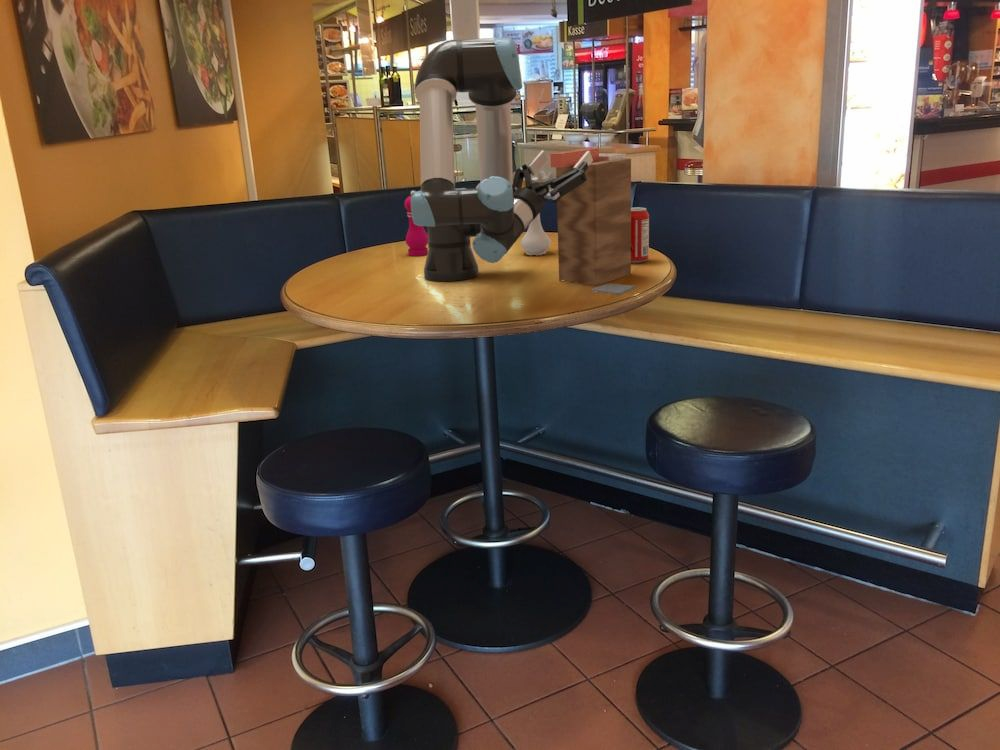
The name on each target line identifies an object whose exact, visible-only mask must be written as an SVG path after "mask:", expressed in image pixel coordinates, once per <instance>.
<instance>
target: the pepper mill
mask: <svg viewBox="0 0 1000 750" xmlns="http://www.w3.org/2000/svg"><path fill="white" fill-rule="evenodd" d="M413 192H416V190H411V191H410V195H409V196H407V198H405V200H404V208H405V209H406V211H407V212H406V217H408V224H409V225H408V230H407V233H406V236H405V244H406V245H407V247H409V248H408V249H407V253H408V256H411V257H421V256H427V254H428V250H429V248H428V247H427V245H428V233H427V232H426V229H425V228H424V226H417V225H415V224H414V222H413V219H412V212H411V194H412V193H413Z"/></svg>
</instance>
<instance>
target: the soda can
mask: <svg viewBox="0 0 1000 750" xmlns="http://www.w3.org/2000/svg"><path fill="white" fill-rule="evenodd" d="M649 233H650V214H649V212H648V210H647V208H646V207H639V206H638V207H631V264H633V263H635V264H642V263H645V262H646V261H648V259H649V256H650V255H649V249H650V246H649V245H650V244H649V243H650V241H649V240H650V235H649Z"/></svg>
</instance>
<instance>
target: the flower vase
mask: <svg viewBox="0 0 1000 750" xmlns="http://www.w3.org/2000/svg"><path fill="white" fill-rule="evenodd" d="M515 172H516V171H513V180H514V176H515ZM536 174H537V175H536V176H537V177H536V176H535V175H532V174H530V175H531V179H532V183H534V182H539V183H540V182H546V181H548V180H554V174H553V172H552V171H550V172H548V174H546V173H545V171H544V170H541V173H540V172H539V171H538V172H537V173H536ZM524 187H526V184H525V178H524V179H523V183H522V188H524ZM548 188H549V192H550V191H551V187H550V185H548ZM520 240H521V241H520V247H521V248H522V249H523V250H524V251H525V254H526V255H528V256H532V255H536V256H543V254H544V255H546V254H547V250H548V249H549V248H550V247H551V244H552V242H551V238H550V236H549V235H548V234H547V233H546V232H545V231H544V228H543V226H542V223H541V212H540V213H539V214H538V215H537V217H536V218H535V219H534V220H533V221H532V222H531V223H530V225H529V226H528V227H527V231H526V233H525V234H524V235H523V236H522V238H521V239H520Z"/></svg>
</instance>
